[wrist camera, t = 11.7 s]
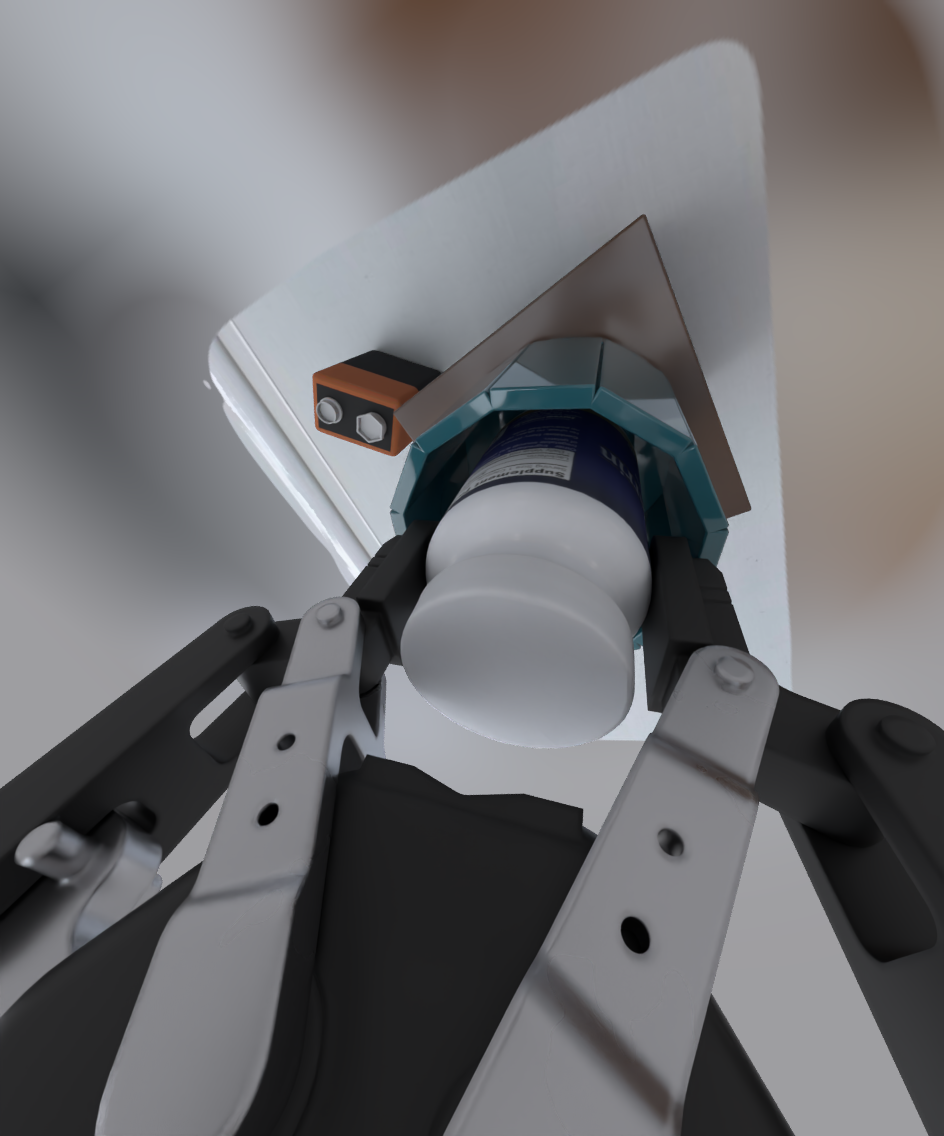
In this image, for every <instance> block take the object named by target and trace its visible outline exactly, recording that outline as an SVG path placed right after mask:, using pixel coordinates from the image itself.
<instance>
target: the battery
mask: <svg viewBox="0 0 944 1136" xmlns="http://www.w3.org/2000/svg"><path fill="white" fill-rule="evenodd" d="M440 375H441V373H440V372H439V371H437V370H434V369H431V368H428V367H425V366H422V365H419V364H415V363H412V362H409V361H406V360H403V359H400V358H397V357H394V356H391V355H388V354H385V353H382V352H378V351H375V350H372V351H369V352H367V353H364V354H361V355H359V356H356V357H354V358H351V359H349V360H346V361H344V362H341V363H338V364H336V365H333V366H331V367H328V368H326V369H323V370H321V371H318V372H316V373H314V374H313V395H314V413H315V427H316V429H317V430H319V431H320V432H323V433H326V434H328V435H331V436H334V437H337V438H340V439H343V440H346V441H349V442H352V443H354V444H357V445H360V446H363V447H366V448H369V449H372V450H375V451H378V452H381V453H384V454H386V455H390V456H396V455H398V454H399V453H400V452H401V451H402V450H403V449H404V448H405V447H406V446H407V445H408V444H410V443H411V442H412V441H413V440H412V439H411V438H410V436H409V435H408V433H407V432H406V431H405V429H404V428H403V426H402V425H401V424H400V422H399V421H398V420H397V418H396V417H395V415H394V414H393V413H394V411H395V410H397V409H398V408H399V407H400V406H402V405H403V404H404V403H406V402H407V401H408V400H409V399H411V398H412V397H413V396H414V395H416V394H417V393H418V392H419V391H421V390H422V389H423V388H424V387H426V386H427V385H428V384H429V383H431V382H432V381H433V380H434V379H436V378H437V377H438V376H440Z"/></svg>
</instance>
